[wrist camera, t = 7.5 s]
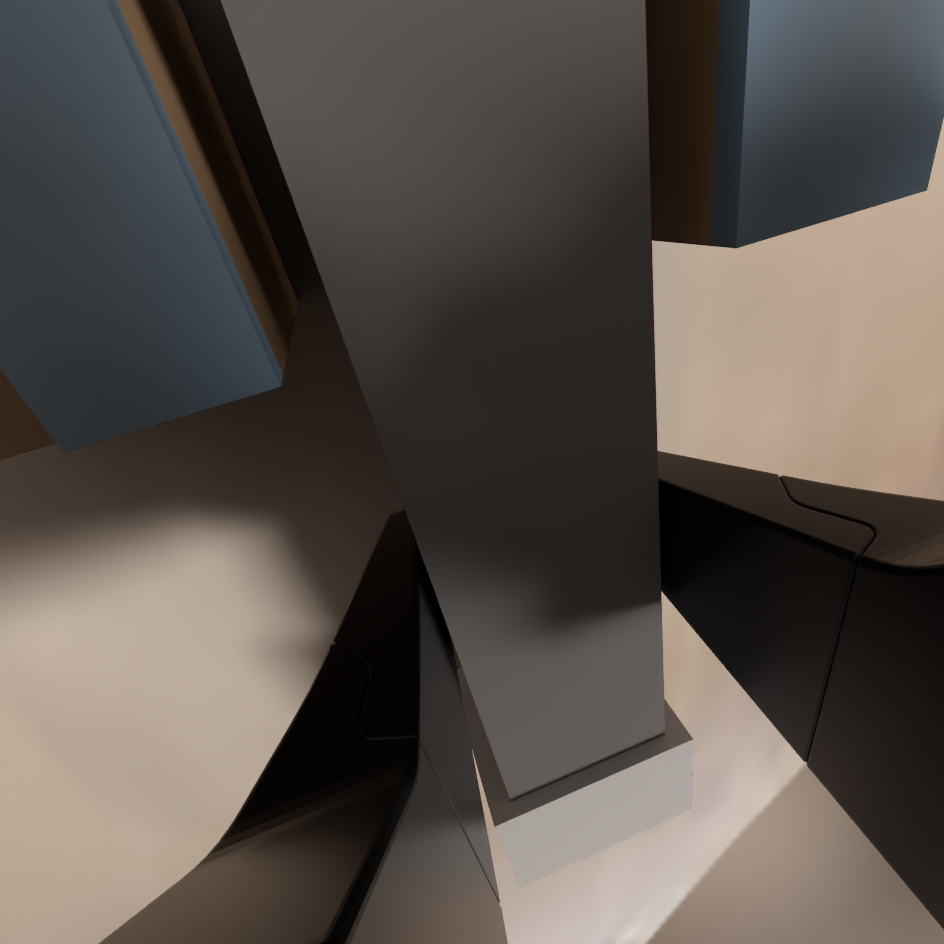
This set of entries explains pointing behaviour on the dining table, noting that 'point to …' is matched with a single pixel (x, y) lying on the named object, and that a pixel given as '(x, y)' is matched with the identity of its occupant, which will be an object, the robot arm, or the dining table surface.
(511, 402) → the long grey plank
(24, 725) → the dining table surface
